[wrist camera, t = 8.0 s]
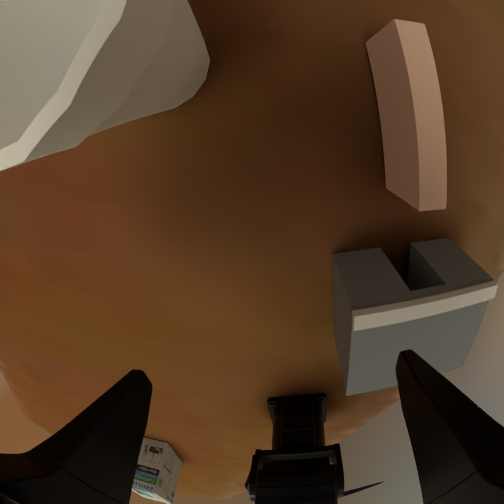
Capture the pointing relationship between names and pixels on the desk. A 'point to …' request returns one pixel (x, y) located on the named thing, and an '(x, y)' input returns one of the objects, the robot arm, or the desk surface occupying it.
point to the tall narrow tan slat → (410, 114)
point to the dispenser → (405, 311)
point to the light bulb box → (157, 471)
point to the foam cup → (91, 69)
